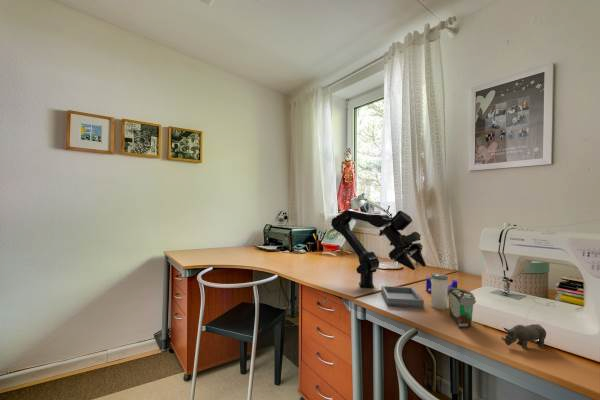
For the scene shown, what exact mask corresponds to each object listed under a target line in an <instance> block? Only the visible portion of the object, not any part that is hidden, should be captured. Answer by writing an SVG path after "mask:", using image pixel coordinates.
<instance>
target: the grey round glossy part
mask: <svg viewBox="0 0 600 400" xmlns="http://www.w3.org/2000/svg"><path fill="white" fill-rule="evenodd" d="M448 280H449V275H448V274H444V273H439V272H437V273H435V272H433V273H430V281H431V289H430V290H431V292H430V293H431V295H430V296H431V297H430V301H431V302H430V303H431V305H430V306H431V308H434V309H437V310H448V294H447V291H448V286H449V285H448Z"/></svg>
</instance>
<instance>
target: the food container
mask: <svg viewBox="0 0 600 400" xmlns="http://www.w3.org/2000/svg"><path fill="white" fill-rule="evenodd" d="M448 293H449V295H448V316H449V319H450V320H451V321H452V322H453V323H454V324H455V325H456V327H457V328H458V329H459V330H461V329H462V330H463V329H465V330H466V329H470V328H471V327H472V320H473V311H474V310H473V309H474V305H476V303H477V301H476V297H475V294H474V293H473V292H471V291H469V290H466V289H463V288H458V287H457V288H453V287H449V289H448Z"/></svg>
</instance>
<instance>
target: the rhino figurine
mask: <svg viewBox="0 0 600 400" xmlns="http://www.w3.org/2000/svg"><path fill="white" fill-rule="evenodd" d="M502 329H504V331H506V332H507V334H506V335H505V338H504V337H503V336H500V337H501V340H502V341H504V343H505V344H506V345H507V346H510V345H512V344H514V343H515V342H516V341H517V342H516V344H517V345H519V346H521V347H520V348H521V349H523V350H528V348H529V347H528V342H534V343H535V344H537V347H538V349H545V340H546V337H547V331H546V329H545V328H544V327H543V326H542V325H541V324H539V323H536V324H529V325H523V324H517V325H515V326H512V327H511V328H506V327H502ZM538 339H539V341H537V340H538Z"/></svg>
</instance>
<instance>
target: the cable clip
mask: <svg viewBox="0 0 600 400" xmlns="http://www.w3.org/2000/svg"><path fill="white" fill-rule="evenodd" d="M425 280H426V281H425V284H426V285H425V291H426V293H431V276H430V277H428V276H426V278H425ZM449 287H453V288H458V281H457V279H452V280H451V284H449V285H448V289H449ZM448 294H449V293H448V291H447V295H448Z"/></svg>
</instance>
